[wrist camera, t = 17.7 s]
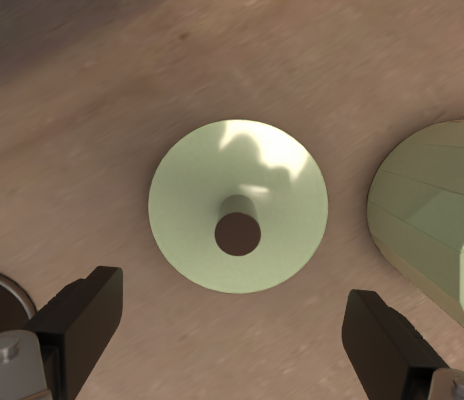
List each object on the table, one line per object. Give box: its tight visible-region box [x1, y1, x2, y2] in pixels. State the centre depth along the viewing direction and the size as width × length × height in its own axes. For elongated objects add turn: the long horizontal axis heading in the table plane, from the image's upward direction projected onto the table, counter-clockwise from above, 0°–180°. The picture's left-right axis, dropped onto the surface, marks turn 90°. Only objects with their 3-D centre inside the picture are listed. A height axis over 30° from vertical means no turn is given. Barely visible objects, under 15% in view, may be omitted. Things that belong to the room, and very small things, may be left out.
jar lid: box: [148, 119, 328, 293], centre depth 21 cm, size 14×14×6 cm
